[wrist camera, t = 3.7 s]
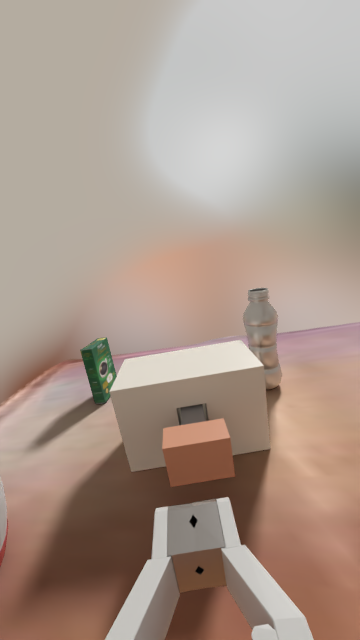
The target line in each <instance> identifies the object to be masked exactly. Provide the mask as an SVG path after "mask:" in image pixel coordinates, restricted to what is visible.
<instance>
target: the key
mask: <svg viewBox="0 0 360 640" xmlns="http://www.w3.org/2000/svg"><path fill="white" fill-rule="evenodd" d="M180 409H181V425H180V426H174V427H168V428H163V445H162V450H163V454H164V459H165V463H166V468H167V472H168V477H169V481H170V486H171V487H175V486H181V485H187V484H193V483H199V482H205V481H211V480H217V479H223V478H229V477H235V470H234V463H233V455H232V447H231V440H230V435H229V432H228V429H227V427H226V424H225V421H224V418H222V419H216V420H210V421H206V419H205V414H204V410H203V405H202V404H198V405H192V406H186V407H180Z"/></svg>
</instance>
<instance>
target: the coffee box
mask: <svg viewBox="0 0 360 640" xmlns="http://www.w3.org/2000/svg"><path fill="white" fill-rule="evenodd" d="M80 351H81V355H82V358H83V362H84V365H85V369H86V373H87V376H88V380H89V383H90V387H91V391H92V394H93V398H94V401H95V404H104V403H106V401H107V400H108V399H109V398H110V392H109V391H110V389H111V387H112V385H113V383H114V381H115V379H116V377H117V376H116V372H115V368H114V364H113V360H112V356H111V352H110V349H109V344H108V340H107V338H99V339H96V340H95V341H93V342H92V343H90V344H89V345H88V346H86V347H85V348H83V349H82V350H80Z"/></svg>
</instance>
